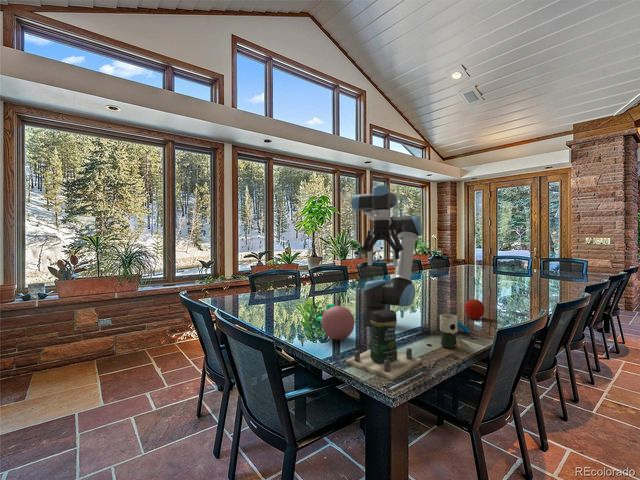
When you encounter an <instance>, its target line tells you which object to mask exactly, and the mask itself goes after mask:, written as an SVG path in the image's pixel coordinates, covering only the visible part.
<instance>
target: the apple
mask: <svg viewBox="0 0 640 480" xmlns="http://www.w3.org/2000/svg"><path fill="white" fill-rule="evenodd" d="M464 311H465V314H466V316H467V317H468V318H469V319H471V320H479V319H481V318H483V317H484V315H485V305H484V304H483V302H482V301H480V300H479V299H475V298H474V299H473V298H472V299H469V300H467V301H466V303H465V304H464Z"/></svg>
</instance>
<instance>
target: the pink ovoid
mask: <svg viewBox="0 0 640 480" xmlns="http://www.w3.org/2000/svg"><path fill="white" fill-rule="evenodd" d="M321 316H322V320H321V323H320V325H321V329H322V331H323V333H324V334H325V335H326V336H327V337H328V338H330V339H332V340H335V341H342V340H345V339H347V338H348V337H350V336H351V334H352V333H353V331H354V328H355V317H354V315H353V314H352V312H351V310H350V309H348V308H346V307H345V306H342V305H335V306H333V307H330V308H329V309H326V311H322V314H321Z"/></svg>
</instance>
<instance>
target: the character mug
mask: <svg viewBox="0 0 640 480" xmlns="http://www.w3.org/2000/svg"><path fill="white" fill-rule="evenodd" d="M458 321H459V320H458V316H457V315H454V314H445V313H444V314H440V315H439V330H440V332H442V333H441V341H440V342H441V343H440V345H441V346H442V347H446V348H449V349H454V348H456V347H458V344H457V338H456V336H457V335H456V334H457V333H458V331H459V329H458V328H457V323H458Z"/></svg>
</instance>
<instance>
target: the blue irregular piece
mask: <svg viewBox="0 0 640 480" xmlns="http://www.w3.org/2000/svg"><path fill="white" fill-rule="evenodd" d="M457 328H458V330H462V332H465V333H466V334H470V333H471V331H470V329H469V328H468V327H467V326H466V324H465V325H464V324H463V323H462V321H460V320H458V323H457Z"/></svg>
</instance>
